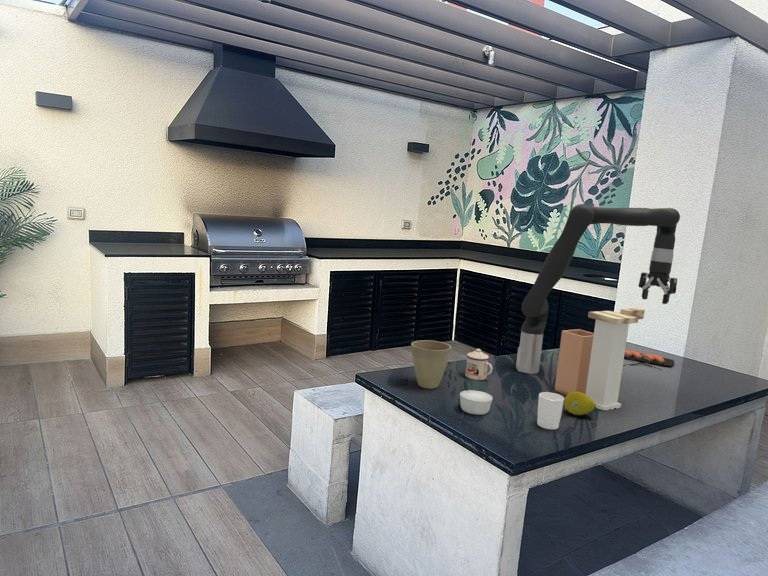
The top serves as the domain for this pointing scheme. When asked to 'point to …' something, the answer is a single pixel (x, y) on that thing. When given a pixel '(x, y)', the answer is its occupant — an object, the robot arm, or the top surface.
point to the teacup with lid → (477, 365)
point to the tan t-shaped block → (618, 316)
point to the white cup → (549, 410)
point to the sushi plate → (647, 359)
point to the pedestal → (606, 364)
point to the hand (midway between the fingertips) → (654, 301)
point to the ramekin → (475, 402)
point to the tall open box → (574, 361)
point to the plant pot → (429, 362)
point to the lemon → (578, 403)
